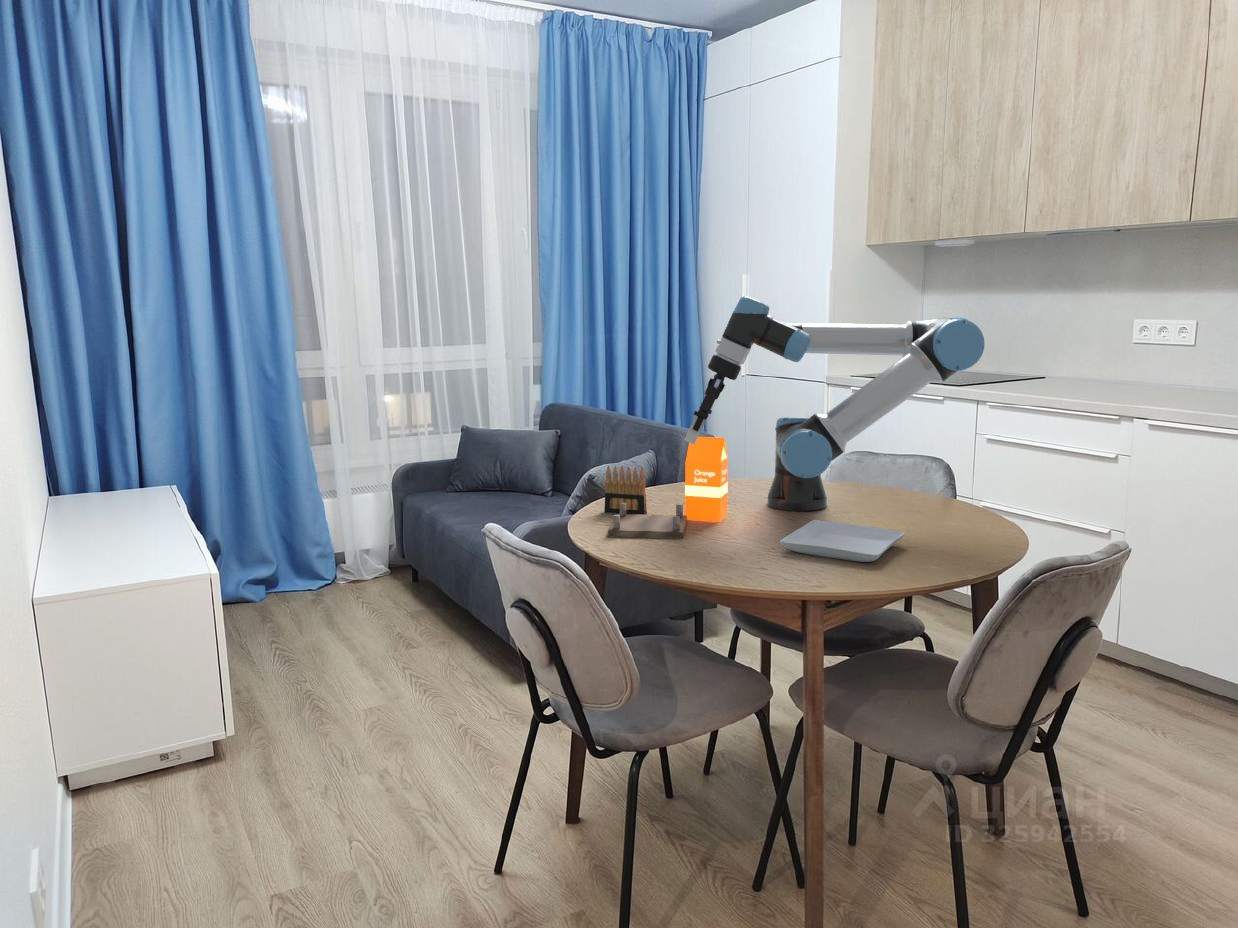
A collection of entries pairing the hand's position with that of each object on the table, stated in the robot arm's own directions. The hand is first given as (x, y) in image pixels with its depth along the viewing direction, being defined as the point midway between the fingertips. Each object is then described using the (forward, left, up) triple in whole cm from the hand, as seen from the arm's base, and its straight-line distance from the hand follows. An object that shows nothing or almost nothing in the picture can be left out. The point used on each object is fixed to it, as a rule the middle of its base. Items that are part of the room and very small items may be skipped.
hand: (690, 438), depth 223 cm
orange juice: (-4, +2, -19) cm, 20 cm away
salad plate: (-34, +28, -20) cm, 48 cm away
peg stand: (+9, +15, -19) cm, 26 cm away
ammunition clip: (+16, -1, -19) cm, 25 cm away
